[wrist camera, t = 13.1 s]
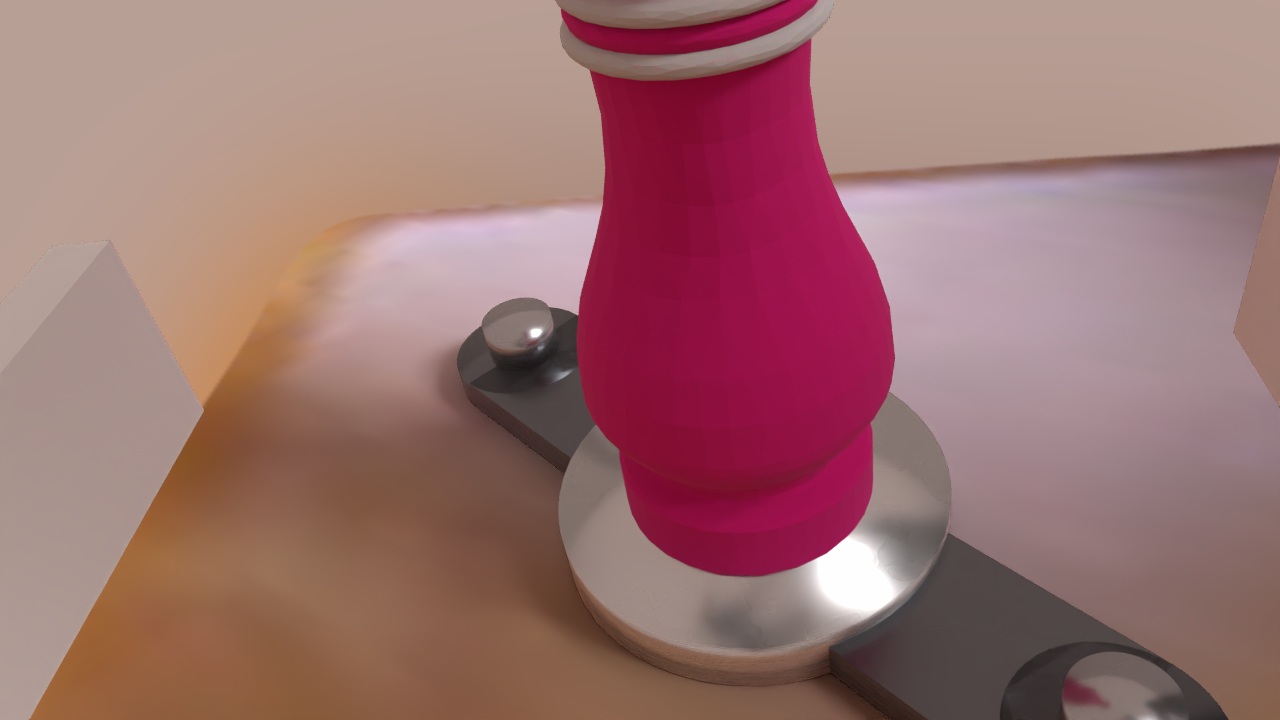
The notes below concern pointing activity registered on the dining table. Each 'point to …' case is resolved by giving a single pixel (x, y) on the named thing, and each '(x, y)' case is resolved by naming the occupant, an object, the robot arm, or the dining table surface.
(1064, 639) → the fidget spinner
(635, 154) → the pepper mill
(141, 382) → the robot arm
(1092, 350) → the dining table surface
